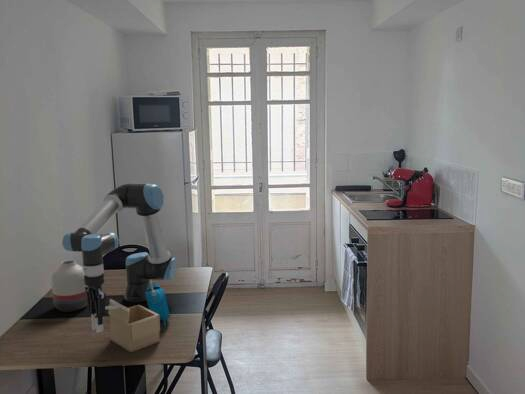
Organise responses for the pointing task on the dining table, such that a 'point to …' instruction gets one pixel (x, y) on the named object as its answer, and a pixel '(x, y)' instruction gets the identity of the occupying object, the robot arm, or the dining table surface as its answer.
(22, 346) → the dining table surface
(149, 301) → the blue rounded piece
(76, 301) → the vase
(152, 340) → the carton
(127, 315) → the flap
